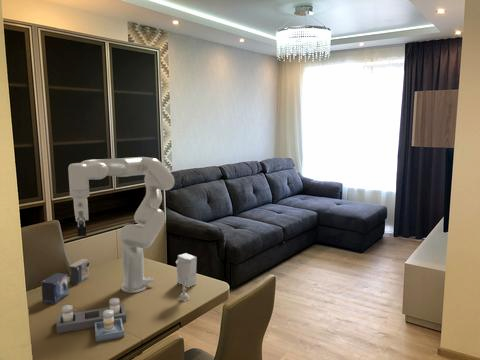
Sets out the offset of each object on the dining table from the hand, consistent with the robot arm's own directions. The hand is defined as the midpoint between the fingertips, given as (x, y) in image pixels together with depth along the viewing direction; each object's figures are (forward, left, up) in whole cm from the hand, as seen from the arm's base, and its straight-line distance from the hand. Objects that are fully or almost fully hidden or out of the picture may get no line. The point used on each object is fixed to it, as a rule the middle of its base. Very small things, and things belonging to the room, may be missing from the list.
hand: (82, 232), depth 170 cm
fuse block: (-2, +13, -34) cm, 37 cm away
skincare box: (-47, -9, -34) cm, 59 cm away
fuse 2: (-11, +13, -34) cm, 38 cm away
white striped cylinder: (-8, +24, -34) cm, 42 cm away
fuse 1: (+7, +13, -34) cm, 37 cm away
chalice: (-42, +6, -34) cm, 55 cm away
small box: (+13, -14, -35) cm, 40 cm away
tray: (-8, +24, -34) cm, 43 cm away
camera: (+3, -32, -35) cm, 47 cm away
